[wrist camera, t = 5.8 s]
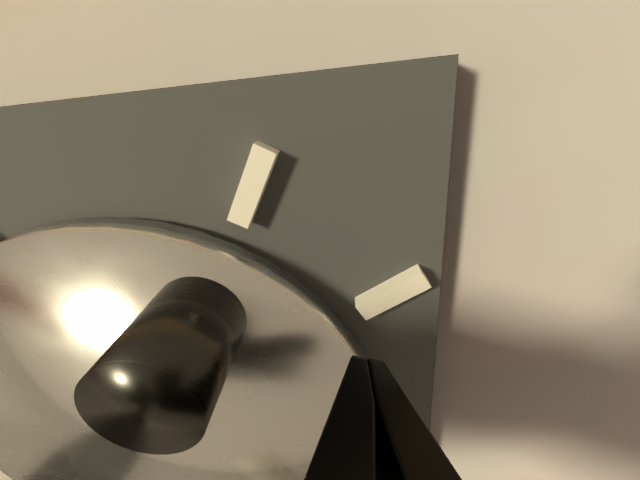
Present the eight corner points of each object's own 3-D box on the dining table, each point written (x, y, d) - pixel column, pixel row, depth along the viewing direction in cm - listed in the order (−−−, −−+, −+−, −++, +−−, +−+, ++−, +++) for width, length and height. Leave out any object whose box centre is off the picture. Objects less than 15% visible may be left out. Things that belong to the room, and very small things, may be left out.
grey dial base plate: (417, 524, 17) (425, 570, 15) (75, 518, 19) (51, 558, 17) (447, 57, 8) (476, 48, 6) (-234, 135, 10) (-353, 144, 8)
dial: (283, 547, 17) (268, 673, 13) (-37, 453, 14) (-162, 574, 11) (469, 343, 10) (543, 485, 6) (-67, 115, 8) (-410, 137, 4)
